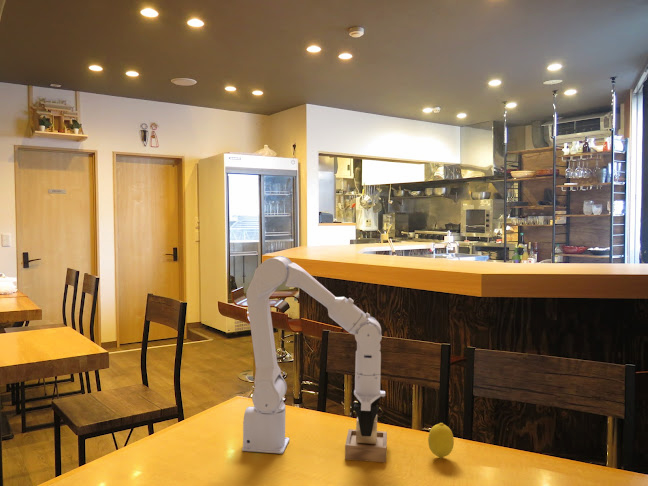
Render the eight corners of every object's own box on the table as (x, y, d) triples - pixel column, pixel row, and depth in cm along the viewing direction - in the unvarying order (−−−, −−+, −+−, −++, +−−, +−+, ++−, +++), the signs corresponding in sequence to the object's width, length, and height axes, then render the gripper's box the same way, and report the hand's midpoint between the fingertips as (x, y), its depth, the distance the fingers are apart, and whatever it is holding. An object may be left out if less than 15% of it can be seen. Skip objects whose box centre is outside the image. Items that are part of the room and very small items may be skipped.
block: (355, 442, 117) (356, 420, 117) (357, 434, 122) (357, 413, 121) (376, 444, 117) (376, 421, 116) (376, 435, 121) (377, 414, 121)
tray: (344, 459, 115) (345, 445, 115) (348, 442, 124) (348, 429, 124) (386, 462, 114) (386, 447, 114) (386, 445, 123) (386, 431, 123)
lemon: (453, 465, 113) (454, 428, 113) (427, 462, 114) (428, 426, 114) (452, 454, 119) (453, 419, 118) (427, 451, 120) (428, 417, 119)
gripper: (385, 382, 111) (383, 445, 111) (386, 364, 125) (385, 420, 126) (351, 380, 112) (350, 443, 112) (356, 363, 126) (355, 418, 127)
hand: (366, 431), depth 119 cm, fingers closed on block, 4 cm apart
